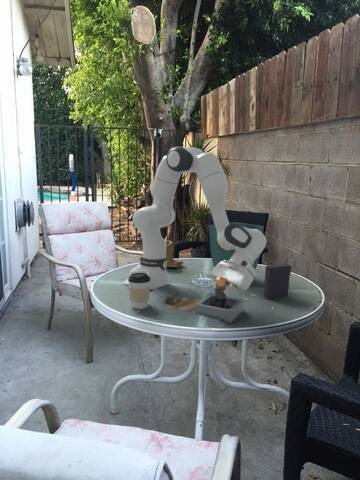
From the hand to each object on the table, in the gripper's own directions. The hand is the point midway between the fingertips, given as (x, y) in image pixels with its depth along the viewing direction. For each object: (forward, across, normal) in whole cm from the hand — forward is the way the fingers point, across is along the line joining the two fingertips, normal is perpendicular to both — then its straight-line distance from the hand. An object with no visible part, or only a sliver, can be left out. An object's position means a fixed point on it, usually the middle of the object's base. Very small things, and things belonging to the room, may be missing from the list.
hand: (219, 291), depth 163 cm
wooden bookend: (-8, -73, +21) cm, 76 cm away
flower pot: (-19, -34, +33) cm, 51 cm away
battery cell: (+4, 0, +5) cm, 7 cm away
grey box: (-18, -3, +32) cm, 36 cm away
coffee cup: (+24, -21, -11) cm, 34 cm away
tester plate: (+12, -14, +1) cm, 18 cm away
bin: (+6, 0, +7) cm, 9 cm away
